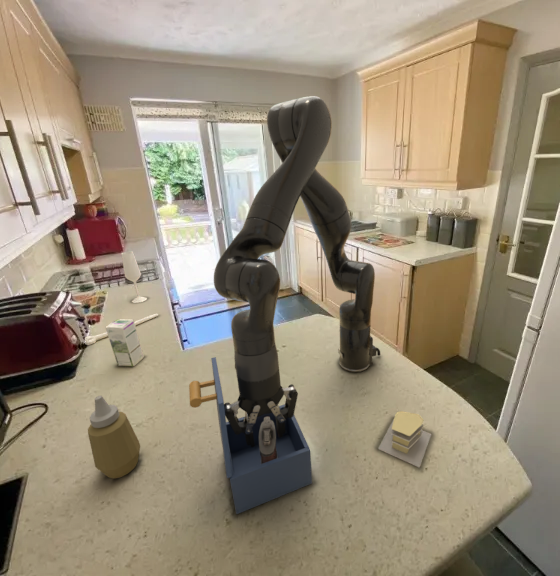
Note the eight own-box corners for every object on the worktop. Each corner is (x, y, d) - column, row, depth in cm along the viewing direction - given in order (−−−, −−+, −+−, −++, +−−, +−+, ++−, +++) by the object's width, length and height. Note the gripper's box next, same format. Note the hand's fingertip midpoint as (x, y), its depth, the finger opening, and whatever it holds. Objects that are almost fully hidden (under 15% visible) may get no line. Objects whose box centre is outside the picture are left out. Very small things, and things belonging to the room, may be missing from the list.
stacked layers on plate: (419, 467, 63) (421, 447, 61) (378, 449, 68) (379, 429, 66) (431, 434, 71) (433, 415, 69) (393, 419, 75) (394, 401, 73)
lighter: (261, 445, 68) (258, 411, 63) (277, 444, 68) (275, 409, 64) (260, 481, 60) (256, 445, 56) (278, 479, 61) (275, 443, 57)
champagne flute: (143, 296, 157) (131, 250, 149) (149, 299, 153) (138, 251, 145) (129, 300, 152) (116, 253, 143) (135, 303, 148) (122, 255, 140)
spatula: (154, 314, 136) (153, 308, 135) (160, 316, 134) (158, 310, 133) (82, 343, 114) (80, 336, 113) (87, 346, 112) (85, 339, 111)
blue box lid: (215, 356, 59) (187, 362, 57) (223, 402, 47) (188, 411, 45) (222, 421, 64) (197, 428, 62) (231, 476, 52) (200, 487, 50)
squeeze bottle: (152, 455, 68) (132, 388, 61) (119, 489, 61) (92, 417, 54) (125, 446, 70) (102, 380, 64) (90, 477, 63) (61, 407, 57)
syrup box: (144, 357, 105) (134, 318, 99) (133, 367, 99) (121, 327, 94) (129, 356, 105) (117, 318, 100) (116, 366, 100) (104, 326, 94)
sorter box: (291, 433, 72) (288, 402, 69) (312, 483, 61) (310, 449, 57) (226, 455, 67) (221, 423, 64) (236, 514, 55) (229, 479, 52)
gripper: (218, 390, 50) (232, 467, 56) (302, 367, 55) (306, 441, 61) (213, 365, 56) (226, 437, 62) (289, 347, 61) (294, 415, 67)
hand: (266, 438), depth 61 cm, fingers open, 5 cm apart
